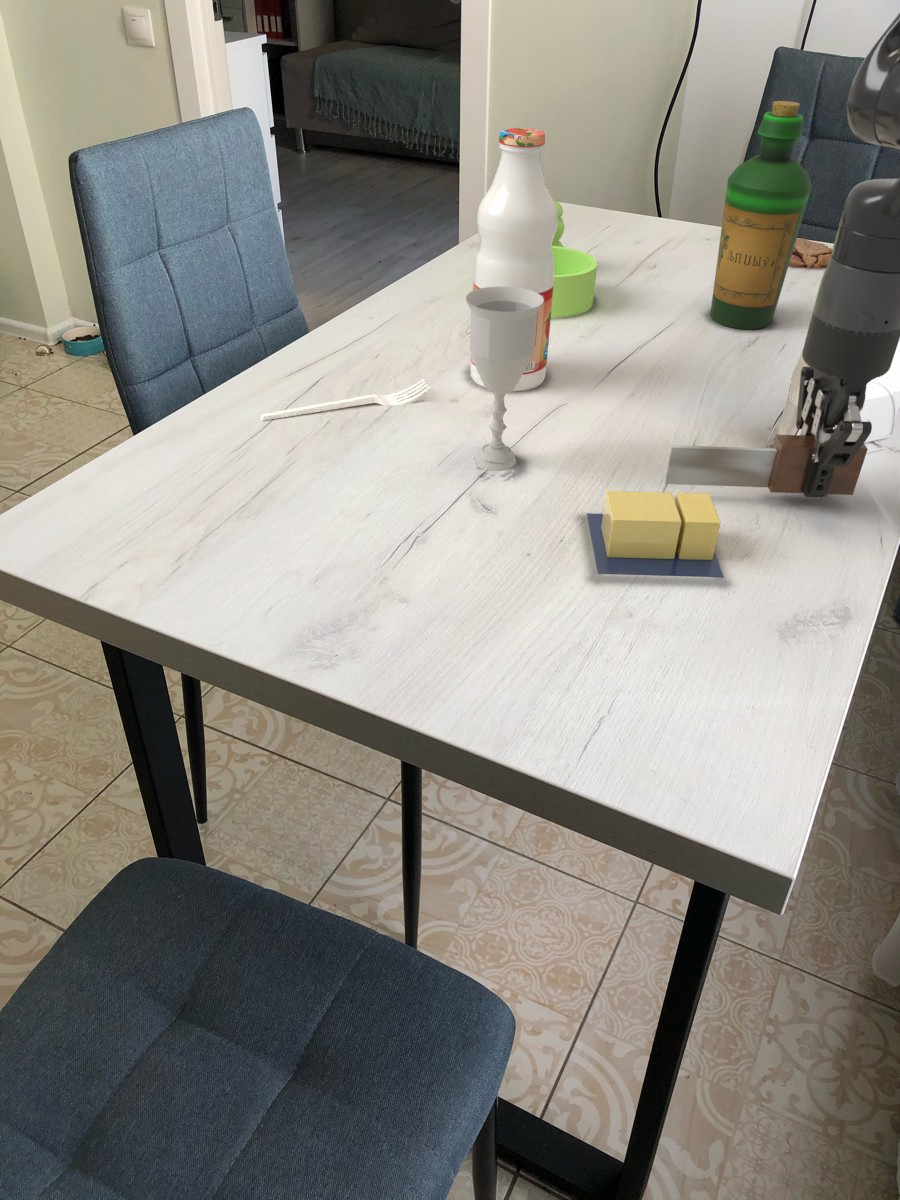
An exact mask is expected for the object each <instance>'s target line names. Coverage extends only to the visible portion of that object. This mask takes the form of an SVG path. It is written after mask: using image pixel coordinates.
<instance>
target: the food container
mask: <svg viewBox="0 0 900 1200" xmlns="http://www.w3.org/2000/svg"><path fill="white" fill-rule="evenodd" d="M547 190H548V192H549V193H550V189H548V188H547ZM552 199H553V201H554V203H555V205H556V208H557V213H558V224H557V229H556V232H555V235H554V238H553V241H552V246H551V249H552V253H553V256H554V263H555V272H554V286H553V296H552V308H551V319H558V318H559V319H560V318H569V317H573V316H574V317H575V316H578V315H582V314H584V313H586V312H588V311H589V310H591V308H592V307H593V305H594V297H595V288H596V281H597V280H596V279H597V272H598V271H597V270H598V261H597V259H596V258H595V257H594V256H592V255H591V254H589V253H586V252H584V251H581V250H578V249H576V248H571V247H565V246H564V245H563V243H562V242H561V241H560V240H561V238H562V237H563V235H564V233H565V222H564V219H563V218H561V217H562V216H563V214H564V208H563V207H562V205H561V203H559V202H558V201H557V200H555V199H554V198H552Z"/></svg>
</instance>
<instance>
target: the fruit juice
mask: <svg viewBox="0 0 900 1200" xmlns="http://www.w3.org/2000/svg"><path fill="white" fill-rule="evenodd" d="M498 144H499V145H498V147H499V149H500V153H501V154H500V158H499V163H498V166H497V169H496V172H495V175H494V177H493V180H492V182H491V185H490V187H489V189H488V190H487V192H486V193H485V195H484V197H483V198H482V199H481V201H480V203H479V205H478V207H477V213H476V227H477V233H478V237H479V247H478V249H477V252H476V254H475V258H474V263H473V273H472V274H473V276H472V285H473V286H472V291H474V290H477V289H481V288H486V287H517V288H523V289H527V290H531V291H534V292H536V293H538V294H539V295H541V296H542V297H543V303H542V305H541V306H540V308H539V310H538V311H537V319H536V332H535V345H534V352H533V354H532V357H531V359H530V361H529V363H528V366H527V368H526V370H525V371H524V373H523V375H522V376H521V378H520V380H519V381H518V383H517V385H516V386H515V388H514V389H513V390H512V391H511V392H524V391H529V390H532V389H535V388H537V387H539V386H540V385H542V384H543V382H544V380H545V378H546V374H547V365H548V354H549V353H548V352H549V341H550V330H551V320H552V318H551V308H552V296H553V286H554V272H555V263H554V256H553V253H552V249H551V246H552V241H553V238H554V235H555V232H556V229H557V224H558V213H557V208H556V205H555V203H554V201H553V199H554V198H553V197H552V196H551V194H550V191H549V192H548V190H549V189H548V187H547V184H546V180H545V176H544V175H545V174H544V170H543V163H542V151H544V149H545V144H546V134H545V132H544V131H542V130H540V129H536V128H530V127H509V128H504V129H501V130H500V132H499V136H498ZM547 189H548V190H547ZM469 369H470V376H471V379H472V380H473V381H474V382H475V383H476V384H478V385H479V386H481V387H484V388H485V386H484V384H483V382H482V380H481V378H480V375H479V373H478V371H477V369H476V367H475V364H474V361H473V357H472V354H471V353H470V365H469Z"/></svg>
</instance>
